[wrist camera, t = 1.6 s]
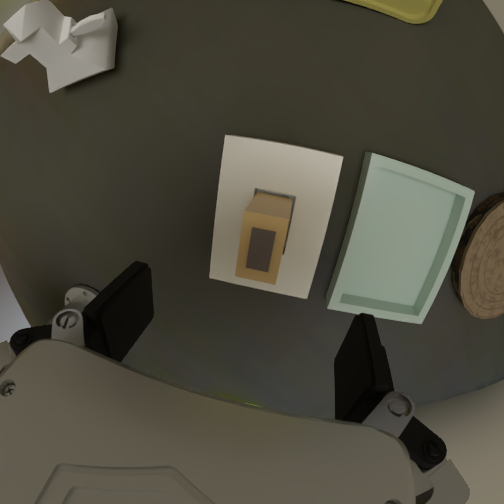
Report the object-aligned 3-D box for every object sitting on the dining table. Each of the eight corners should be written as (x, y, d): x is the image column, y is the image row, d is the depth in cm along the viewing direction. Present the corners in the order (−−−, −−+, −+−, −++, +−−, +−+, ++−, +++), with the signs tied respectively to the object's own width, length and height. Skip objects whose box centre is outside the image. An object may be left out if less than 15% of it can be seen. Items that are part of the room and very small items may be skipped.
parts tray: (415, 311, 29) (421, 324, 26) (325, 295, 30) (327, 308, 27) (463, 186, 22) (474, 191, 20) (365, 151, 23) (372, 152, 21)
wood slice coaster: (429, 252, 26) (439, 264, 23) (509, 165, 19) (524, 170, 17) (471, 325, 28) (479, 338, 26) (539, 254, 22) (550, 263, 19)
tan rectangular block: (282, 243, 27) (275, 286, 20) (252, 236, 27) (234, 277, 20) (292, 193, 25) (289, 220, 17) (260, 187, 25) (243, 211, 18)
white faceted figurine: (140, 68, 22) (46, 48, 10) (58, 97, 25) (-25, 104, 12) (145, 7, 19) (66, -33, 7) (62, 44, 21) (-15, 37, 9)
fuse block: (306, 283, 30) (306, 298, 27) (217, 264, 30) (209, 277, 28) (338, 154, 24) (343, 156, 21) (233, 134, 24) (225, 134, 22)
